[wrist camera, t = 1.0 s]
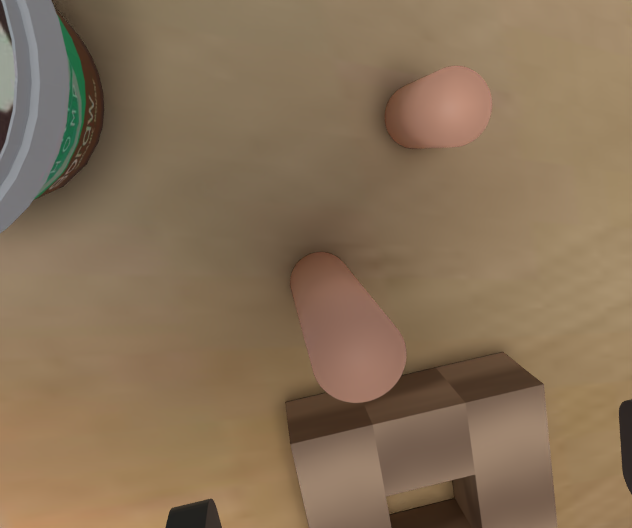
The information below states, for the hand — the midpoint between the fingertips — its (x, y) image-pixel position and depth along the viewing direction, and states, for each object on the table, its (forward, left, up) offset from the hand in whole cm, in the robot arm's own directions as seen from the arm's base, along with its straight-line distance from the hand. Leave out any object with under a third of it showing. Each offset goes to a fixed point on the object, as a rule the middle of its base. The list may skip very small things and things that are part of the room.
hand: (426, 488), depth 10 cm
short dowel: (-7, +6, -16) cm, 19 cm away
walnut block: (+12, +3, -16) cm, 20 cm away
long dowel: (0, 0, -16) cm, 16 cm away
